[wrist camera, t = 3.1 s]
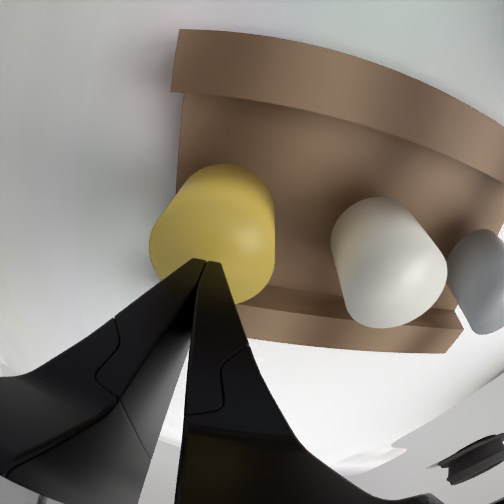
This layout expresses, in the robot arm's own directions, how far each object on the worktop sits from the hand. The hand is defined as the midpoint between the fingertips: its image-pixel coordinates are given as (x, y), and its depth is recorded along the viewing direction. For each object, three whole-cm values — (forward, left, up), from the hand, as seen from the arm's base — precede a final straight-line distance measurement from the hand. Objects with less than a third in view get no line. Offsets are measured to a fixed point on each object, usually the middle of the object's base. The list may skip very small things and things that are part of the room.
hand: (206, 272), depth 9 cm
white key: (-6, 0, -4) cm, 8 cm away
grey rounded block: (-13, 0, -4) cm, 14 cm away
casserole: (-62, +48, -7) cm, 79 cm away
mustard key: (0, 0, -4) cm, 4 cm away
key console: (-6, 0, -7) cm, 9 cm away
